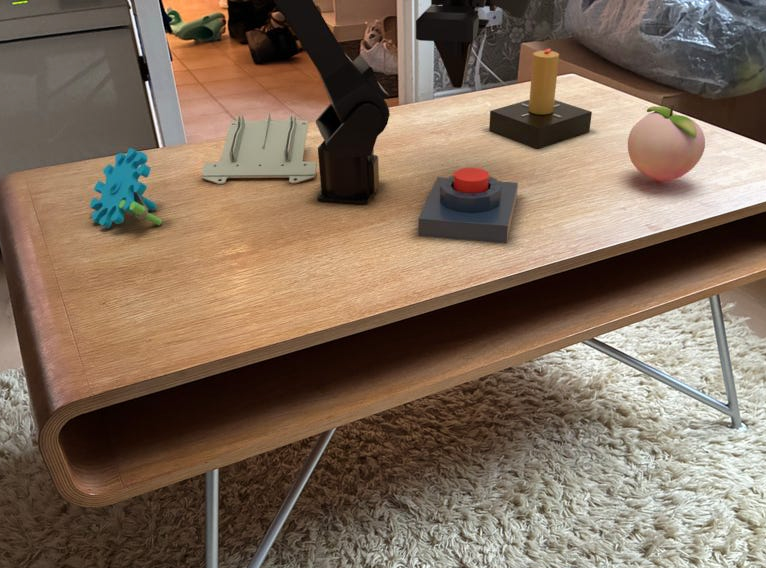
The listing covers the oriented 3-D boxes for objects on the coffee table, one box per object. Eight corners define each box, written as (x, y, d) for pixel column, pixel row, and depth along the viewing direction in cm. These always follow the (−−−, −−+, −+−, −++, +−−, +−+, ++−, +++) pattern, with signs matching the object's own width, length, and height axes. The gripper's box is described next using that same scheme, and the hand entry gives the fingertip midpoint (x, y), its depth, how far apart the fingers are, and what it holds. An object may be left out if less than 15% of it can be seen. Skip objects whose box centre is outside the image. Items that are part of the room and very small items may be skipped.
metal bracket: (214, 106, 107) (321, 105, 106) (223, 141, 111) (325, 140, 111) (196, 172, 98) (312, 170, 98) (206, 206, 103) (317, 205, 102)
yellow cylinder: (550, 115, 110) (556, 55, 105) (525, 113, 111) (530, 53, 106) (555, 108, 113) (561, 49, 108) (531, 105, 114) (536, 47, 109)
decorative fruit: (606, 178, 99) (617, 100, 93) (652, 165, 102) (666, 89, 96) (660, 203, 92) (676, 122, 86) (707, 189, 96) (726, 109, 90)
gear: (77, 196, 93) (125, 131, 91) (119, 218, 97) (165, 156, 95) (100, 243, 86) (152, 173, 84) (144, 264, 90) (194, 198, 88)
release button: (485, 196, 86) (486, 182, 85) (450, 194, 87) (451, 179, 86) (490, 182, 89) (490, 168, 88) (456, 180, 90) (456, 166, 89)
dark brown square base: (537, 149, 108) (539, 127, 106) (488, 130, 114) (490, 109, 112) (589, 131, 113) (592, 110, 111) (540, 115, 120) (542, 94, 118)
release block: (506, 243, 85) (509, 210, 82) (418, 236, 86) (418, 203, 84) (516, 199, 94) (519, 168, 92) (436, 193, 96) (437, 162, 94)
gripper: (526, -45, 74) (514, 116, 83) (545, -70, 88) (533, 69, 98) (414, -47, 76) (415, 109, 85) (451, -71, 91) (448, 64, 100)
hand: (457, 86), depth 92 cm, fingers closed
